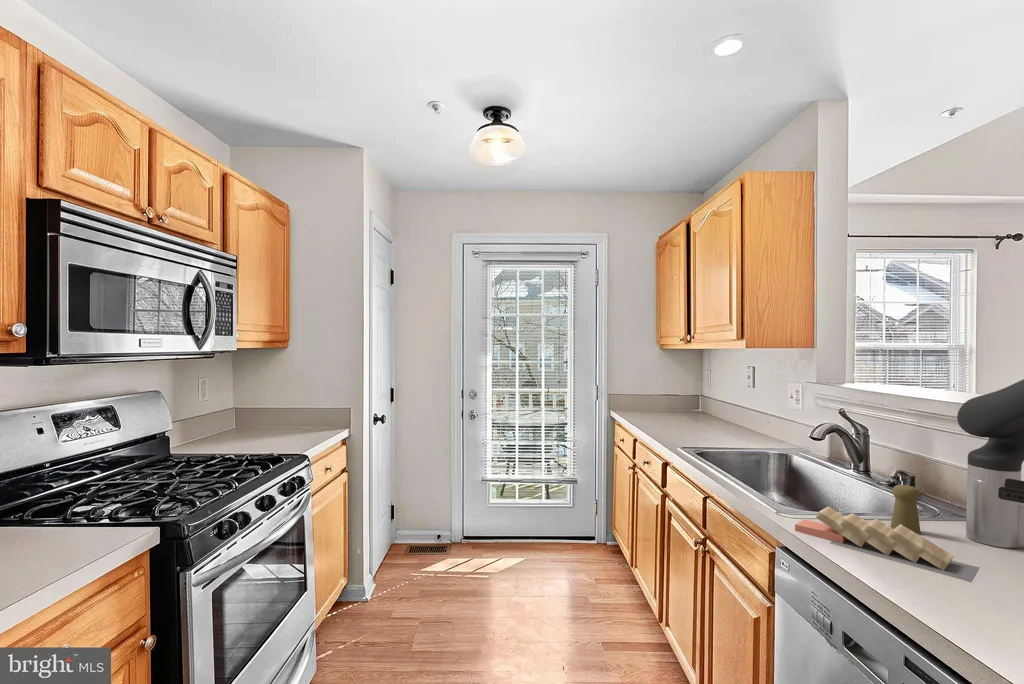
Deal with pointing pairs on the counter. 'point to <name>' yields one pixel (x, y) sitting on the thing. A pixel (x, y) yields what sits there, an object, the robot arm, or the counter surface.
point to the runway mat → (952, 569)
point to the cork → (906, 508)
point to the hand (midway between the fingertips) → (1001, 487)
